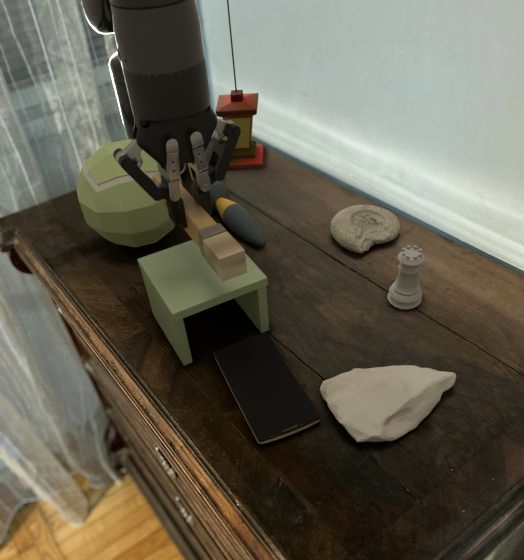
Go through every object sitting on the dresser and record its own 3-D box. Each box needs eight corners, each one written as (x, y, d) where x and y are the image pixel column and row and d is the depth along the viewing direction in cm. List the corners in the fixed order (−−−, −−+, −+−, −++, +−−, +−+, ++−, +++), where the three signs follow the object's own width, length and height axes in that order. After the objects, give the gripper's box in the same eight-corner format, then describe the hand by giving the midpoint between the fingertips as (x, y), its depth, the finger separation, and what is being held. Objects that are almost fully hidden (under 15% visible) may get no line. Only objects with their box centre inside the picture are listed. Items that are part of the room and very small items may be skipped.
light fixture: (263, 148, 106) (251, -39, 85) (262, 167, 101) (249, -27, 79) (224, 150, 107) (202, -35, 85) (221, 169, 101) (196, -23, 80)
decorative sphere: (199, 250, 84) (183, 158, 73) (101, 275, 81) (70, 183, 71) (177, 203, 94) (160, 115, 83) (89, 223, 91) (60, 136, 81)
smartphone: (267, 331, 69) (322, 418, 59) (268, 337, 70) (322, 424, 60) (212, 350, 67) (259, 442, 58) (213, 356, 68) (260, 449, 58)
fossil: (375, 242, 76) (314, 228, 81) (376, 264, 79) (316, 250, 84) (411, 203, 82) (352, 192, 87) (410, 225, 84) (353, 213, 90)
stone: (312, 360, 61) (435, 330, 64) (311, 385, 64) (428, 355, 67) (349, 435, 54) (485, 398, 56) (346, 459, 57) (476, 422, 59)
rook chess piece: (400, 285, 76) (407, 236, 70) (428, 299, 73) (438, 249, 67) (380, 301, 74) (386, 252, 68) (408, 316, 71) (416, 266, 65)
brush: (154, 198, 68) (149, 176, 66) (175, 191, 69) (171, 169, 66) (222, 282, 55) (218, 257, 53) (247, 272, 56) (244, 248, 54)
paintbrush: (283, 241, 85) (281, 212, 81) (257, 254, 83) (254, 225, 79) (211, 192, 96) (207, 165, 92) (187, 203, 94) (182, 176, 90)
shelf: (151, 312, 75) (136, 258, 68) (230, 282, 78) (223, 228, 72) (185, 368, 67) (172, 314, 61) (271, 332, 71) (267, 277, 64)
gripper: (100, 87, 45) (146, 259, 57) (249, 49, 49) (262, 218, 61) (76, 61, 50) (123, 225, 62) (214, 29, 54) (233, 189, 66)
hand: (192, 221), depth 62 cm, fingers closed on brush, 2 cm apart
